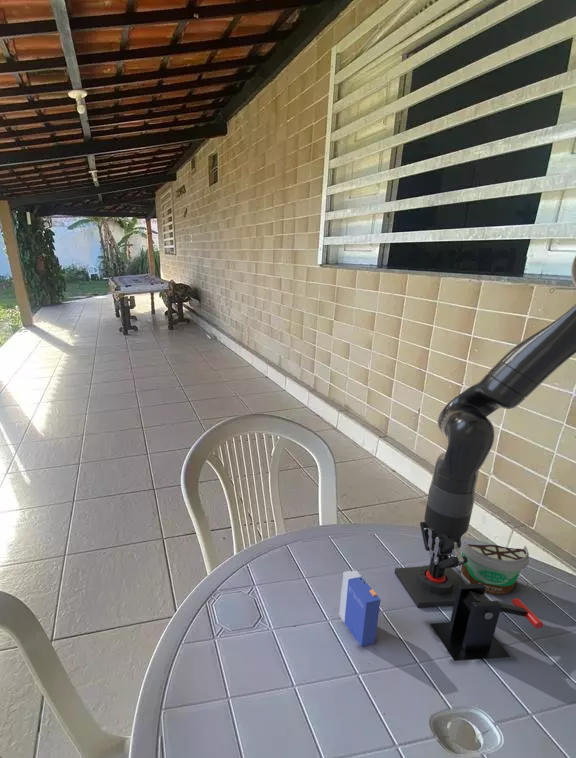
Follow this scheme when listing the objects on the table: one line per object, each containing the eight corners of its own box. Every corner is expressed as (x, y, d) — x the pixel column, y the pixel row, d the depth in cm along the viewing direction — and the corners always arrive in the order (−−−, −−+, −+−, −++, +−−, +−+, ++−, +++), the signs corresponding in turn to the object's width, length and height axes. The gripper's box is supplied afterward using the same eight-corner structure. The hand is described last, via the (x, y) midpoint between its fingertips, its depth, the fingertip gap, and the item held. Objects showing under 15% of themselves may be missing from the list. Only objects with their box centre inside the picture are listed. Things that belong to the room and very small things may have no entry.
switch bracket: (479, 624, 81) (492, 576, 77) (510, 662, 74) (525, 611, 69) (428, 628, 81) (437, 579, 77) (453, 666, 74) (465, 615, 69)
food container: (462, 597, 87) (471, 558, 84) (452, 576, 93) (460, 539, 89) (531, 606, 84) (543, 566, 81) (517, 584, 90) (528, 545, 86)
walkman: (374, 648, 78) (381, 597, 73) (360, 651, 77) (366, 601, 73) (351, 614, 85) (356, 567, 81) (338, 617, 85) (342, 570, 80)
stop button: (438, 575, 90) (439, 568, 90) (448, 587, 87) (449, 581, 86) (421, 576, 90) (422, 569, 90) (431, 588, 87) (432, 582, 86)
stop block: (447, 572, 94) (450, 557, 93) (476, 607, 85) (480, 592, 83) (393, 575, 94) (395, 561, 93) (417, 611, 85) (420, 596, 83)
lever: (515, 606, 78) (522, 596, 77) (539, 631, 73) (546, 621, 72) (457, 594, 77) (463, 584, 76) (477, 618, 71) (484, 608, 71)
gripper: (492, 524, 75) (473, 598, 82) (448, 485, 88) (435, 553, 94) (450, 526, 75) (435, 601, 82) (412, 488, 88) (402, 555, 94)
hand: (435, 575), depth 88 cm, fingers closed
